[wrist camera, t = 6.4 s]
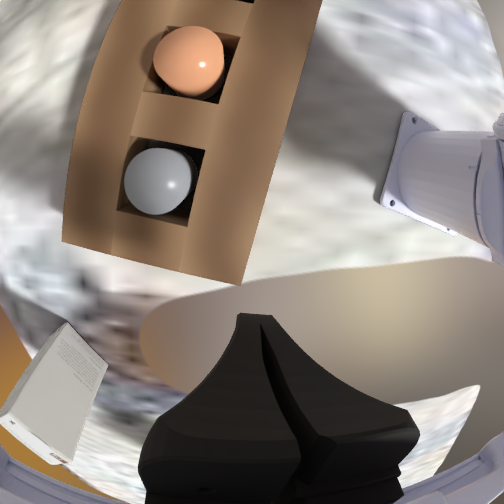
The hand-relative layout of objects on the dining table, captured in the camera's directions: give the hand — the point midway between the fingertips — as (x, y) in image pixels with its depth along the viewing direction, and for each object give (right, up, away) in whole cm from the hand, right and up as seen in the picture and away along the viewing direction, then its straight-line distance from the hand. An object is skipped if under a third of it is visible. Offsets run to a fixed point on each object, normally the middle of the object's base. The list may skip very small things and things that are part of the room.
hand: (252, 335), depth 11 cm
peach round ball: (-4, +15, +5) cm, 16 cm away
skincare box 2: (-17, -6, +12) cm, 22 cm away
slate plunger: (-5, +8, +8) cm, 12 cm away
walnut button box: (-4, +15, +6) cm, 16 cm away
